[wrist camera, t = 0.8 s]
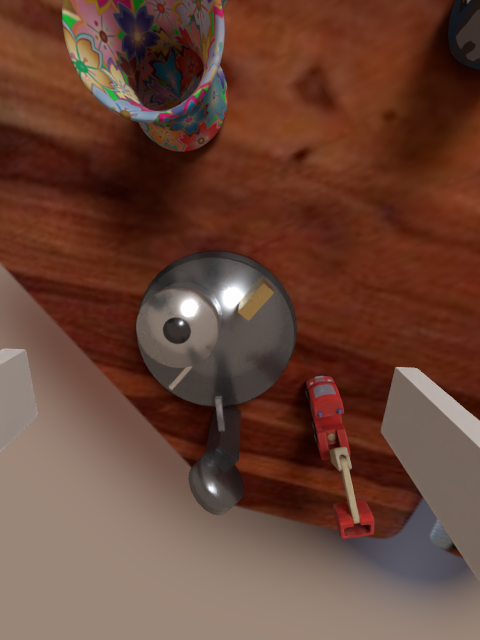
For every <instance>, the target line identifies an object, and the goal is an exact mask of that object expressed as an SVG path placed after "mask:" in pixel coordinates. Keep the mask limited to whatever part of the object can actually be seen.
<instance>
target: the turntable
mask: <svg viewBox="0 0 480 640" xmlns="http://www.w3.org/2000/svg"><path fill="white" fill-rule="evenodd" d="M181 281H189V282H194V283H198V284H200V285H202V286H204V287H206V288H207V289H208V290H210V291H211V292H212V293H213V294H214V296H215V297H216V299H217V300H218V302H219V304H220V307H221V311H222V323H221V327H220V330H219V334H218V338H217V341H216V344H215V347H214V349H213V350H212V352H211V353H210V355H209V356H208V357H207V358H206V359H204V360H203V361H202V362H200V363H198V364H196V365H194V366H190V367H185V368H174V367H169V366H166V365H163V364H161V363H159V362H157V361H156V360H154V359H153V358H151V357H150V356H149V355H148V354H147V353H146V352H145V350H144V349H143V347H142V346H141V344H140V342H139V339H138V336H137V339H138V345H139V349H140V352H141V355H142V357H143V360H144V362H145V364H146V366H147V367H148V369H149V371H150V372H151V373H152V375H153V376H154V377H155V378H156V379H157V380H158V381H159V383H160V384H161V385H163V386H164V387H165V388H166V389H168V390H169V391H170V392H172V393H173V394H175V395H177V396H178V397H181V398H183V399H185V400H187V401H190V402H193V403H196V404H200V405H206V406H216V403H215V397H216V396H222V404H223V406H230V405H235V404H240V403H243V402H246V401H248V400H251V399H253V398H255V397H257V396H259V395H260V394H262V393H263V392H265V391H266V390H267V389H268V388H270V387H271V386H272V385H273V384H274V383H275V382H276V381H277V380H278V378H279V377H280V376H281V374H282V373H283V371H284V370H285V368H286V366H287V364H288V362H289V359H290V356H291V353H292V349H293V343H294V327H293V320H292V316H291V312H290V310H289V307H288V305H287V303H286V301H285V299H284V297H283V295H282V294H281V292H280V290H279V289H278V288H277V286H276V285H275V284H274V283H273V282H272V281H271V280H270V279H269V278H268V277H267V276H266V275H265V274H263V273H262V272H261V271H260V270H258V269H256V268H255V267H253V266H251V265H249V264H247V263H244V262H242V261H239V260H235V259H232V258H226V257H203V258H197V259H194V260H190V261H187V262H185V263H183V264H181V265H178V266H177V267H175V268H173V269H172V270H170V271H168V272H167V273H165V274H164V275H163V276H162V277H161V278H159V279H158V280H157V281H156V283H155V284H154V285H153V286H152V287H151V289H150V290H149V292H148V293H147V295H146V296H145V298H144V300H143V303H142V305H141V308H142V307H143V305H144V304H145V303H146V302H147V301H148V300H149V299H150V298H151V297H153V296H154V295H156V294H157V293H158V292H160V291H161V290H162V289H164V288H165V287H167V286H168V285H170V284H173V283H176V282H181ZM141 308H140V310H141ZM139 312H140V311H139Z"/></svg>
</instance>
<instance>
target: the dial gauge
mask: <svg viewBox="0 0 480 640" xmlns="http://www.w3.org/2000/svg"><path fill="white" fill-rule="evenodd" d="M215 403H216V410H215V411H214V412H213V414H212V420H211V425H210V430H209V435H208V441H207V446H206V451H205V454H204V455H203V456H202V457H201V458H200V459H199V460H198V461H197V462H196V463H195V464H194V465H193V466H192V468H191V470H190V472H189V484H190V488H191V491H192V493H193V495H194V497H195V499H196V500H197V502H198V503H199V504H200V505H201V506H202V507H203V508H204V509H205V510H206V511H208V512H210V513H212V514H215V515H222V514H225V513H226V512H227V511H228V510H229V509H231V508H232V507H233V506H234V505H235V504H236V503H237V502H238V501H239V500H240V499H241V498H242V497H243V493H244V484H243V480H242V477H241V475H240V472H239V471H238V469H237V467H236V466H235V465H234V464H235V463H236V462H237V461H238V460H239V442H240V417H241V411H240V410H238V409H237V408H236V407H234V406H233V405H230V406H223V404H222V396H216V397H215Z"/></svg>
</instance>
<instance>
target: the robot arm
mask: <svg viewBox="0 0 480 640" xmlns="http://www.w3.org/2000/svg"><path fill="white" fill-rule="evenodd" d="M37 417H38V413H37V407H36V401H35V396H34V390H33V385H32V380H31V374H30V369H29V364H28V358H27V353H26V350H25V349H2V350H0V452H1V451H2V450H3V449H4V448H5V447H6V446H7V445H8V444H9V443H11V442H12V441H13V440H14V439H15V438H16V437H17V436H18V435H19V434H20V433H21V432H22V431H23V430H24V429H25V428H26V427H27V426H28V425H29V424H30V423H31V422H32V421H33V420H34V419H36V418H37ZM381 433H382V434H383V436H384V438H385V439H386V441H387V442H388V444H389V445H390V447H391V448H392V450H393V451H394V453H395V454H396V456H397V457H398V459H399V460H400V462H401V463H402V465H403V466H404V468H405V470H406V471H407V473H408V474H409V476H410V477H411V479H412V480H413V482H414V483H415V485H416V486H417V488H418V489H419V491H420V492H421V494H422V495H423V497H424V499H425V500H426V501H427V503H428V505H429V506H430V508H431V509H432V511H433V512H434V514H435V515H436V517H437V518H438V520H439V521H440V523H441V524H442V526H443V528H444V529H445V531H446V532H447V534H448V535H449V537H450V538H451V540H452V541H453V543H454V544H455V546H456V547H457V549H458V550H459V552H460V553H461V555H462V557H463V558H464V560H465V561H466V563H467V564H468V566H469V567H470V569H471V570H472V572H473V573H474V574H475V576H476V578H477V579H478V581H479V582H480V421H479V420H478V419H476V418H475V417H474V416H473V415H472V414H471V413H469V412H468V411H467V410H466V409H465V408H463V407H462V406H461V405H460V404H459V403H458V402H456V401H455V400H454V399H453V398H452V397H450V396H449V395H448V394H447V393H446V392H445V391H443V390H442V389H441V388H440V387H439V386H437V385H436V384H435V383H434V382H433V381H432V380H430V379H429V378H428V377H427V376H426V375H424V374H423V373H422V372H421V371H420V370H419V369H417V368H404V367H395V372H394V376H393V380H392V385H391V389H390V393H389V398H388V402H387V406H386V411H385V415H384V419H383V424H382V428H381Z"/></svg>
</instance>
